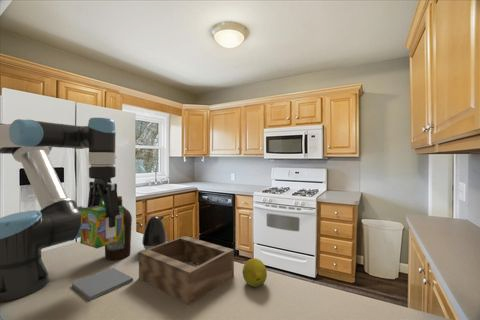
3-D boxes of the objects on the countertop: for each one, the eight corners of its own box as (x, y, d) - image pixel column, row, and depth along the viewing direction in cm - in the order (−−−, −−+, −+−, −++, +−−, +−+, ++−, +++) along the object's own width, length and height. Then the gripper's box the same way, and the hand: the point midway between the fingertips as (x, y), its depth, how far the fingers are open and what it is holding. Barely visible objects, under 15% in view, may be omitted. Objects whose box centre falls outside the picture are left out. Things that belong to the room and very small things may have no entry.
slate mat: (72, 286, 75) (72, 283, 75) (113, 270, 86) (113, 267, 86) (89, 300, 67) (89, 296, 67) (132, 281, 78) (132, 278, 78)
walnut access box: (138, 278, 80) (138, 251, 80) (184, 257, 97) (184, 235, 97) (190, 304, 65) (189, 272, 65) (233, 275, 82) (233, 249, 82)
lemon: (243, 276, 81) (243, 253, 81) (266, 277, 81) (266, 253, 81) (241, 294, 70) (241, 267, 70) (267, 295, 70) (267, 268, 70)
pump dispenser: (171, 248, 107) (171, 215, 107) (152, 256, 98) (152, 220, 98) (156, 244, 112) (156, 212, 112) (137, 251, 103) (137, 217, 103)
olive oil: (108, 252, 102) (107, 195, 102) (134, 249, 105) (134, 194, 105) (99, 262, 92) (99, 199, 92) (128, 259, 94) (128, 198, 94)
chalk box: (79, 244, 74) (79, 198, 74) (107, 235, 83) (107, 194, 83) (97, 249, 70) (96, 200, 70) (124, 240, 78) (124, 195, 78)
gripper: (131, 166, 73) (132, 237, 73) (99, 165, 86) (99, 226, 86) (106, 166, 67) (107, 244, 67) (75, 165, 80) (75, 231, 80)
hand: (102, 234), depth 76 cm, fingers closed on chalk box, 9 cm apart
